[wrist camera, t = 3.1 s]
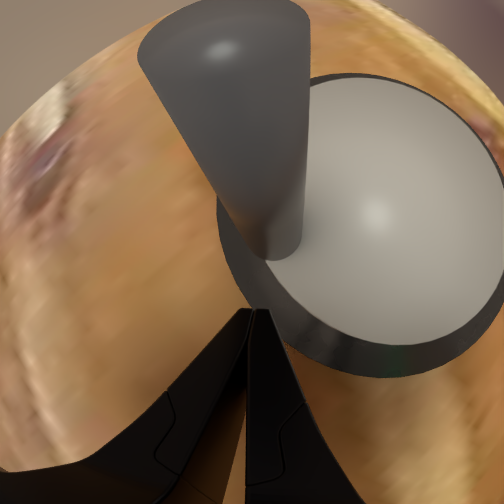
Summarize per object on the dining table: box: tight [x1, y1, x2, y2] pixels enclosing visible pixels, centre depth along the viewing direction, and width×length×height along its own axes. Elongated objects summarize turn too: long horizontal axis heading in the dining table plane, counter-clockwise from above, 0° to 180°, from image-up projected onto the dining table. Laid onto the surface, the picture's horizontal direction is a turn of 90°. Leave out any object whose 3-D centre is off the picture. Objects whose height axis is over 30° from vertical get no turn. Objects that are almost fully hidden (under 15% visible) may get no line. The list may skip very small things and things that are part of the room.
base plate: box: [217, 73, 504, 378], centre depth 16 cm, size 22×22×2 cm
